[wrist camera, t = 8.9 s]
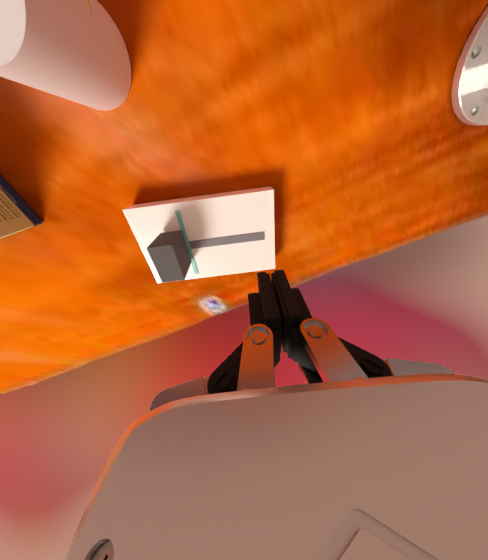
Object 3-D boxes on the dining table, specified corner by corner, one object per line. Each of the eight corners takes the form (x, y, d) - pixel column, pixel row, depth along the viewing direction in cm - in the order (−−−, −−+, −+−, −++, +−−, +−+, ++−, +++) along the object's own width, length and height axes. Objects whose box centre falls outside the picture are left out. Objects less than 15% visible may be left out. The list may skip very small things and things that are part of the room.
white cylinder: (130, 13, 17) (-15, -187, 7) (132, 122, 21) (44, 94, 11) (24, -39, 15) (-368, -406, 5) (50, 91, 19) (-139, 25, 10)
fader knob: (181, 230, 25) (171, 244, 21) (191, 261, 28) (184, 279, 24) (160, 233, 25) (146, 248, 21) (172, 263, 28) (162, 282, 24)
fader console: (269, 186, 26) (274, 189, 23) (271, 260, 33) (275, 269, 30) (132, 204, 26) (121, 210, 23) (163, 273, 33) (157, 283, 30)
